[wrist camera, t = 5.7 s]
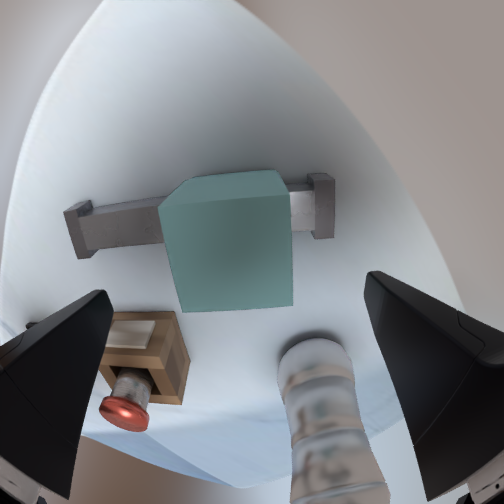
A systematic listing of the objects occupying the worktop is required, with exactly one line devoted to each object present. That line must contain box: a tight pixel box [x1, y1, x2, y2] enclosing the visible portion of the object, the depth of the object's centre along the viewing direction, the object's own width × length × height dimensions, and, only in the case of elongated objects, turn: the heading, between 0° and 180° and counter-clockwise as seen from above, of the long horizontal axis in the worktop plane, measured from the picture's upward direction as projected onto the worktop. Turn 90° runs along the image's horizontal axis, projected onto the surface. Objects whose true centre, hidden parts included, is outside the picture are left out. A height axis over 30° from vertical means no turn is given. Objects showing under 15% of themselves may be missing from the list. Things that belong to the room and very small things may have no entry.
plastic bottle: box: [277, 338, 390, 504], centre depth 15 cm, size 6×7×20 cm
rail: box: [63, 173, 335, 259], centre depth 17 cm, size 17×4×2 cm, turn 95°
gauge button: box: [99, 367, 154, 432], centre depth 18 cm, size 4×4×6 cm
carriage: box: [157, 169, 293, 313], centre depth 14 cm, size 5×5×7 cm
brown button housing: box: [99, 311, 190, 405], centre depth 21 cm, size 6×6×5 cm
